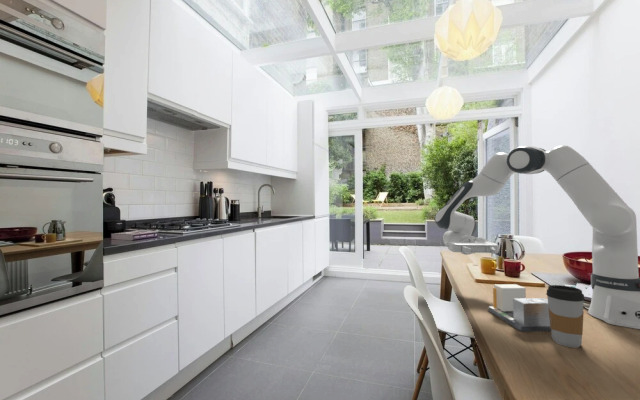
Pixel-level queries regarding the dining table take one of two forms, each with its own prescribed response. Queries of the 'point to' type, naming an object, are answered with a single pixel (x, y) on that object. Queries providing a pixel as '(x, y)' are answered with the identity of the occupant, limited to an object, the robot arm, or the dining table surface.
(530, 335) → the dining table surface
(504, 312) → the base
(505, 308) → the cream rectangular block
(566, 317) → the coffee cup
